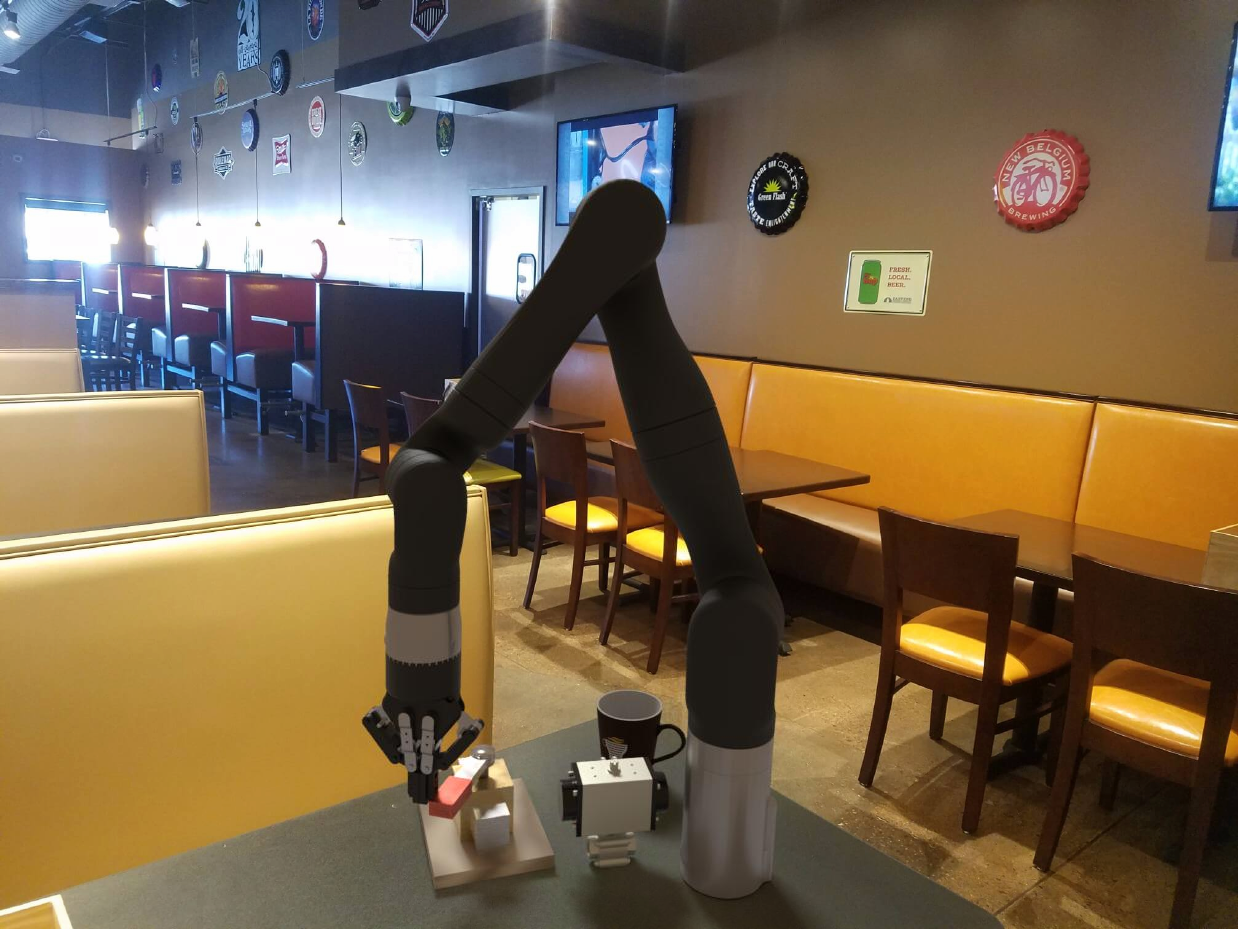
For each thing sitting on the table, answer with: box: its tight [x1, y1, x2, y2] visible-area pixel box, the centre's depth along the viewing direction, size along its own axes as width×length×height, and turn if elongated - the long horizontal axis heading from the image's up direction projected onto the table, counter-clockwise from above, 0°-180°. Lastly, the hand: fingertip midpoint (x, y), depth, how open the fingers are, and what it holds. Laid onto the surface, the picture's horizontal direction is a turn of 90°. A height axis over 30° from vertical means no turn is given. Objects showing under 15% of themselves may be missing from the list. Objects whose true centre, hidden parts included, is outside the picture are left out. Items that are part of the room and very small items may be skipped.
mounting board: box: [416, 777, 555, 890], centre depth 101 cm, size 13×16×2 cm
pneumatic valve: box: [557, 756, 670, 869], centre depth 97 cm, size 6×12×12 cm, turn 101°
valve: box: [451, 756, 514, 858], centre depth 100 cm, size 6×13×7 cm, turn 19°
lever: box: [429, 744, 496, 820], centre depth 94 cm, size 12×3×2 cm, turn 166°
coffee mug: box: [596, 689, 687, 768], centre depth 112 cm, size 12×9×10 cm
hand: (422, 799), depth 91 cm, fingers closed
